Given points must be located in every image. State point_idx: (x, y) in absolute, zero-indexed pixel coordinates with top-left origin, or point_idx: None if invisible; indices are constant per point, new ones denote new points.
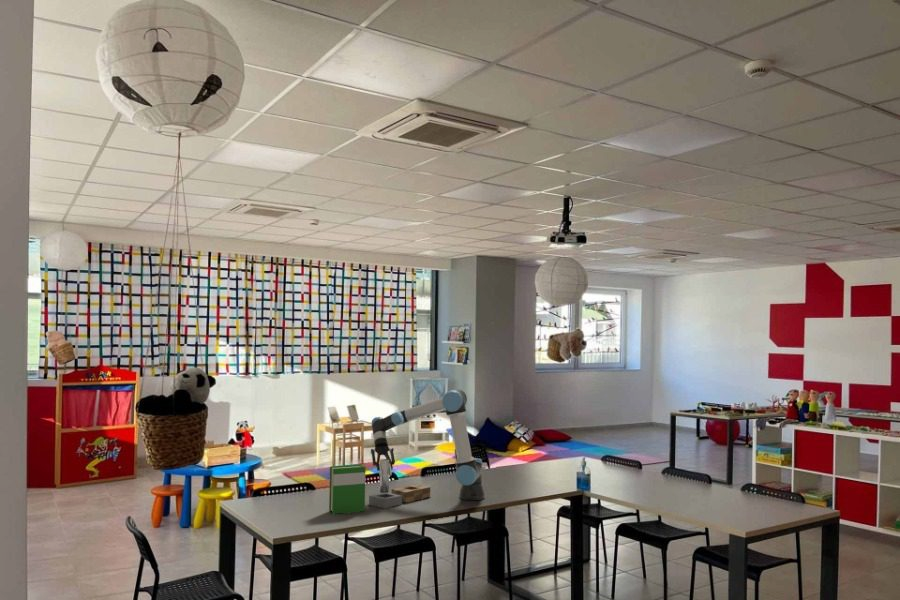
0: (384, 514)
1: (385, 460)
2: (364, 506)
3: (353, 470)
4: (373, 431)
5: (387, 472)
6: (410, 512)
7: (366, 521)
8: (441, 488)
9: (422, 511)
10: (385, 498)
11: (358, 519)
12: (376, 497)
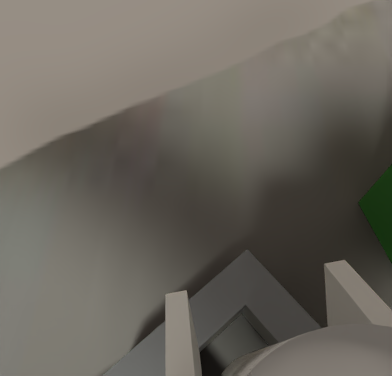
0: (239, 141)
1: (336, 325)
2: (371, 188)
3: None
4: None
5: (237, 364)
6: (99, 172)
7: (316, 40)
8: None
9: (31, 188)
10: (240, 280)
11: (359, 67)
12: (316, 322)
